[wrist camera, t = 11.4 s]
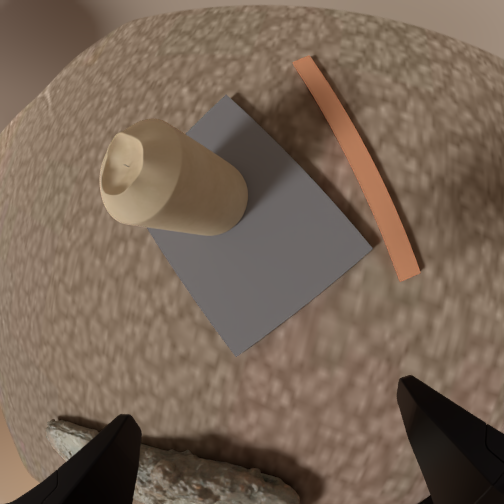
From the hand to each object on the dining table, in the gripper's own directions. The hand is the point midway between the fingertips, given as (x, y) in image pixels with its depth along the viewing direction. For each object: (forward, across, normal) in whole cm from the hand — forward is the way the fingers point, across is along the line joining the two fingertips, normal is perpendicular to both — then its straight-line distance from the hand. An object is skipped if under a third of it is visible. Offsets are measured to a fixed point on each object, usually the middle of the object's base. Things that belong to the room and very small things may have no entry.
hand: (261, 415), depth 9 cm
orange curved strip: (+14, -8, -6) cm, 17 cm away
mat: (+16, +1, -3) cm, 16 cm away
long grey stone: (+10, +16, +20) cm, 28 cm away
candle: (+16, +2, -4) cm, 17 cm away
